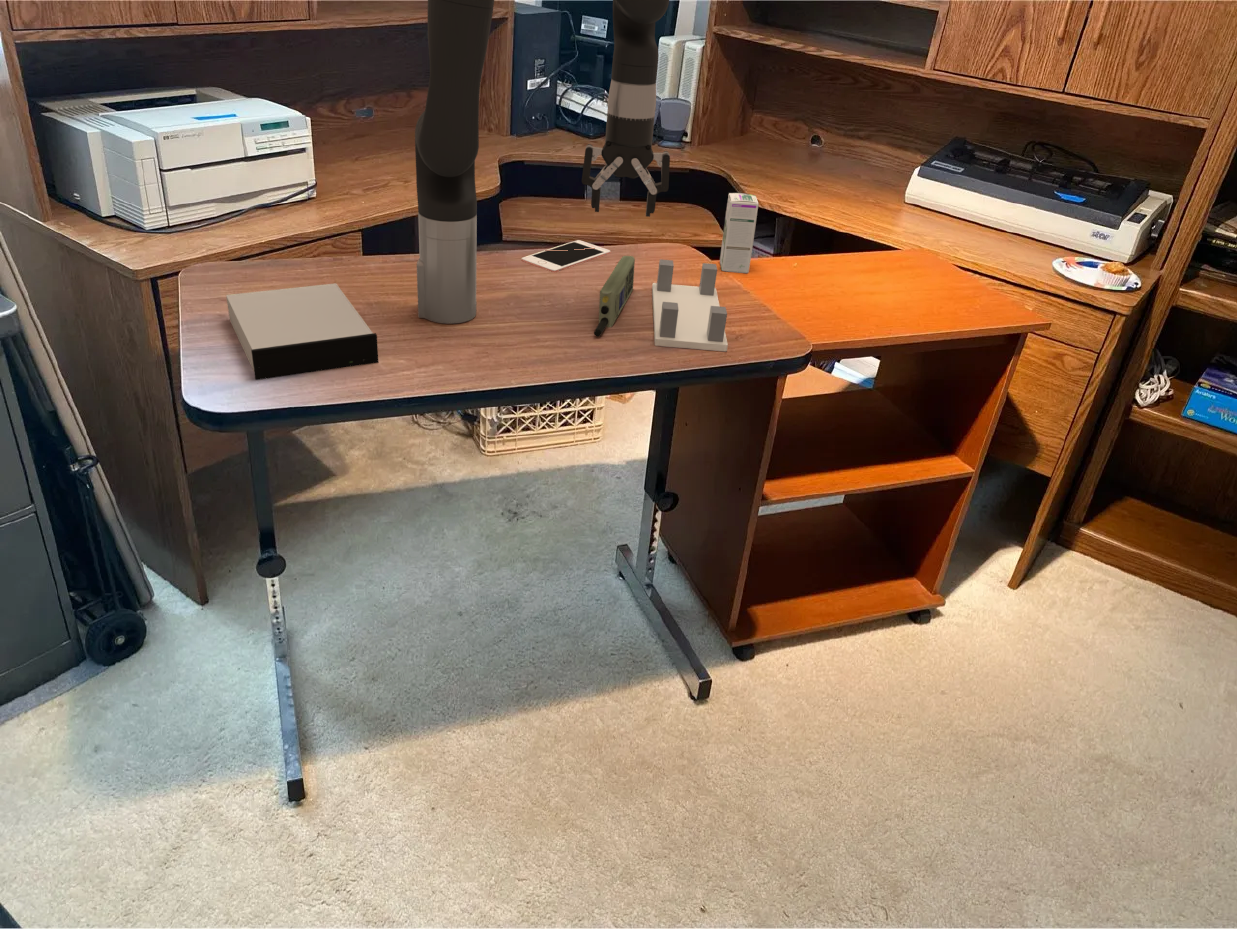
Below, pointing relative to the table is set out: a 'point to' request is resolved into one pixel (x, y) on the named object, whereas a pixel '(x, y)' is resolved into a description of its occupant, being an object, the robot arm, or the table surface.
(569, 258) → the cell phone
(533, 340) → the table surface
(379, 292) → the table surface
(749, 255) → the syrup box
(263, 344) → the disc drive
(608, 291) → the handheld radio
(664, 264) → the rack
